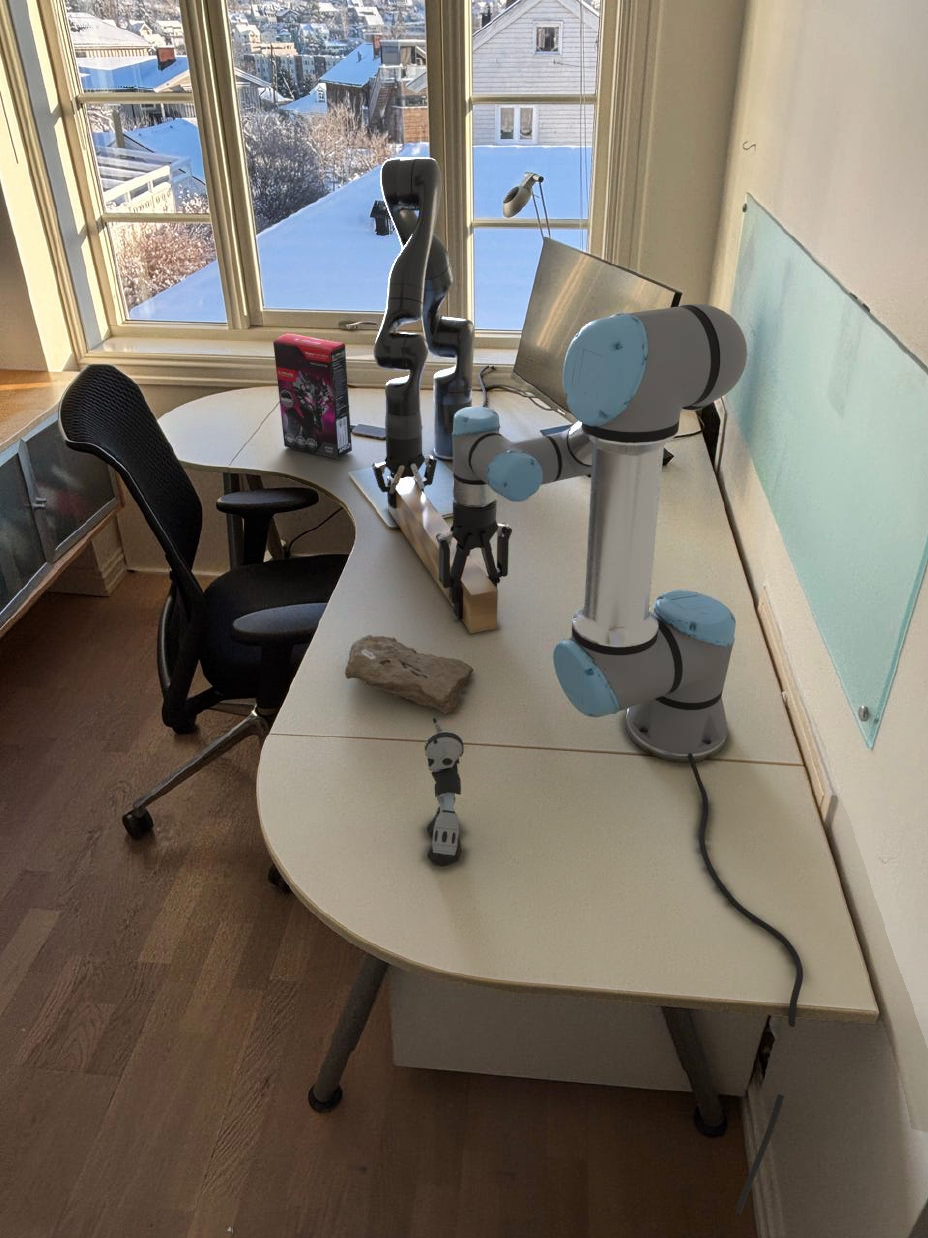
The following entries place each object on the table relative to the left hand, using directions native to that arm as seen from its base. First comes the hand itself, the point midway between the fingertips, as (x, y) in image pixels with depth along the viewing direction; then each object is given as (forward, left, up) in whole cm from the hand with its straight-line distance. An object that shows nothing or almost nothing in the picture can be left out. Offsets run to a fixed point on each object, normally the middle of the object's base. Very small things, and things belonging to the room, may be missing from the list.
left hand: (405, 504), depth 199 cm
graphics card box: (-29, -33, -3) cm, 44 cm away
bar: (+16, +12, -3) cm, 20 cm away
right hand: (+32, +23, -3) cm, 40 cm away
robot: (+87, +34, -3) cm, 93 cm away
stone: (+56, +18, -3) cm, 59 cm away
